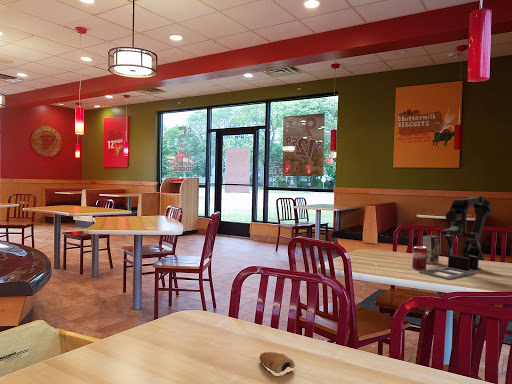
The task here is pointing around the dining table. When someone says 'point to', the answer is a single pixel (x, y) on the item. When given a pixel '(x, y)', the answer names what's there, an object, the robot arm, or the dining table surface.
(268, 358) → the pastry
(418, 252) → the soda can
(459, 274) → the label frame
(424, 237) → the coffee box
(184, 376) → the dining table surface
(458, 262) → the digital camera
